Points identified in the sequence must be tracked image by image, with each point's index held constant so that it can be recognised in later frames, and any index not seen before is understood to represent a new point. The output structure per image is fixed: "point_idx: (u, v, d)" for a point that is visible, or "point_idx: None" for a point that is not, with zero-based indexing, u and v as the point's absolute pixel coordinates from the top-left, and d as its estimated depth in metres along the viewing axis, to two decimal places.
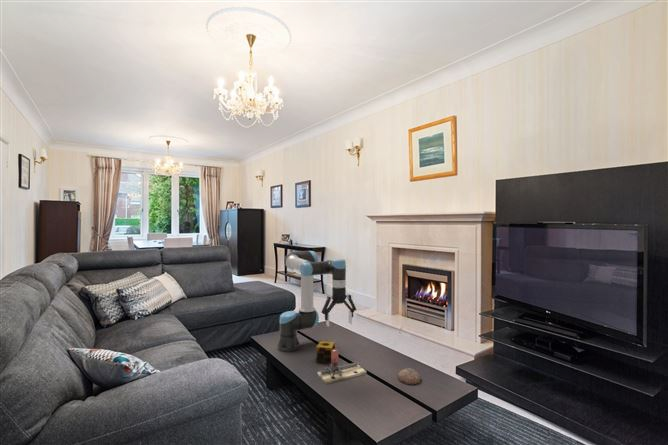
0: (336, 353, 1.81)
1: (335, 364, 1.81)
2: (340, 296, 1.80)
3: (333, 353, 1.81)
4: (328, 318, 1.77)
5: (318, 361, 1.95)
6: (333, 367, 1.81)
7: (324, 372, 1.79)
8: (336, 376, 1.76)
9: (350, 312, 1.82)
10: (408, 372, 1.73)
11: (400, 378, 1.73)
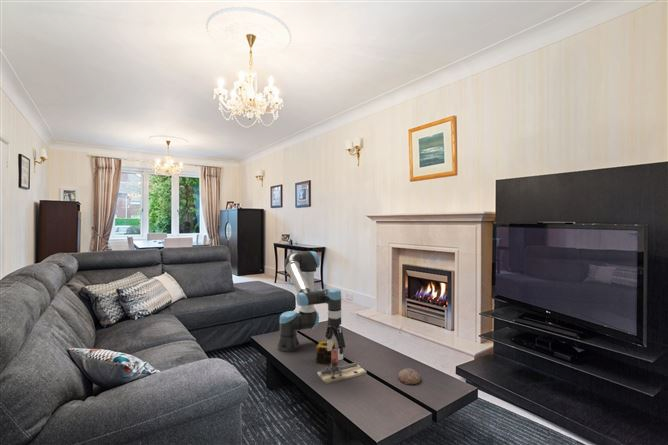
0: (336, 353, 1.81)
1: (335, 364, 1.81)
2: (333, 326, 1.82)
3: (333, 353, 1.81)
4: (327, 343, 1.88)
5: (318, 361, 1.95)
6: (333, 367, 1.81)
7: (324, 372, 1.79)
8: (336, 376, 1.76)
9: (338, 347, 1.76)
10: (408, 372, 1.73)
11: (400, 378, 1.73)
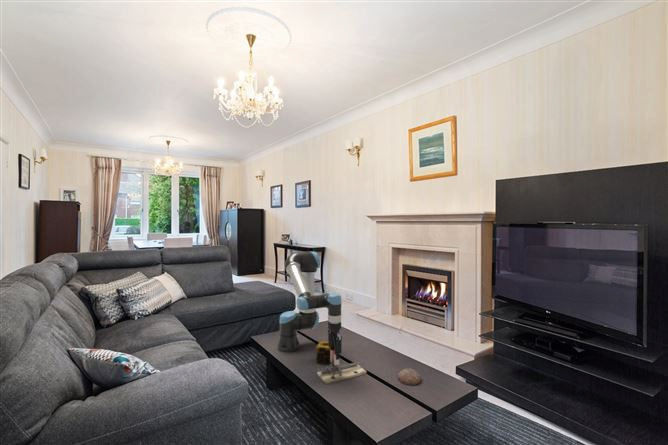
0: None
1: None
2: (333, 331, 1.82)
3: (333, 353, 1.81)
4: None
5: (318, 361, 1.95)
6: (333, 367, 1.81)
7: (324, 372, 1.79)
8: (336, 376, 1.76)
9: (334, 353, 1.80)
10: (408, 372, 1.72)
11: (400, 378, 1.72)
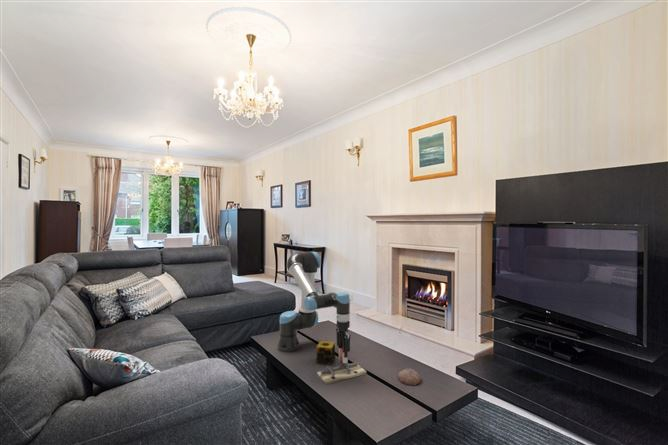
0: None
1: None
2: (341, 330, 1.84)
3: (341, 351, 1.83)
4: (339, 351, 1.87)
5: (318, 361, 1.95)
6: (341, 365, 1.83)
7: (324, 372, 1.79)
8: (336, 376, 1.76)
9: (342, 351, 1.83)
10: (408, 372, 1.72)
11: (400, 378, 1.72)
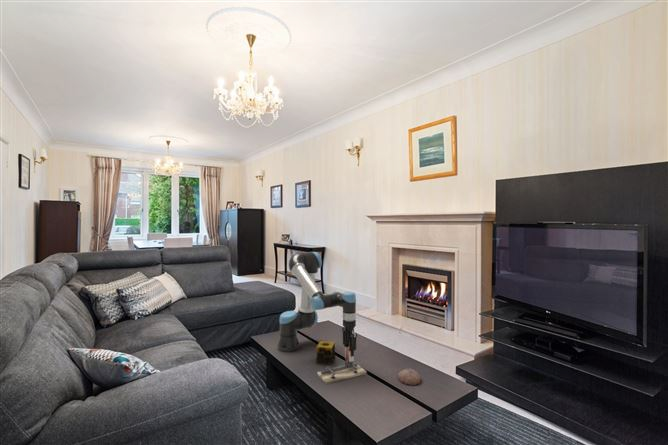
0: None
1: None
2: (347, 328, 1.86)
3: (348, 350, 1.85)
4: (345, 350, 1.88)
5: (318, 361, 1.95)
6: (348, 364, 1.85)
7: (324, 372, 1.79)
8: (336, 376, 1.76)
9: (349, 350, 1.85)
10: (408, 372, 1.72)
11: (400, 378, 1.72)
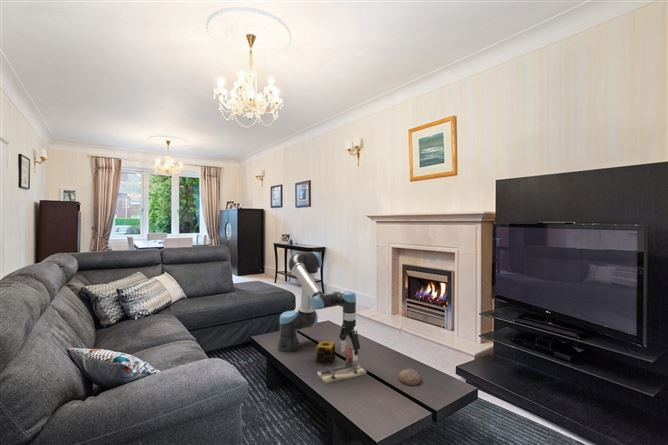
0: (351, 350, 1.85)
1: (350, 361, 1.85)
2: (347, 328, 1.86)
3: (348, 350, 1.85)
4: (341, 343, 1.93)
5: (318, 361, 1.95)
6: (348, 364, 1.85)
7: (324, 372, 1.79)
8: (336, 376, 1.76)
9: None
10: (408, 373, 1.72)
11: (400, 379, 1.72)
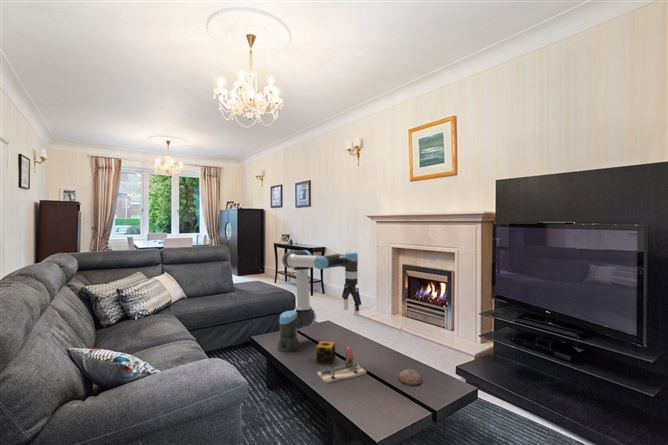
0: (351, 350, 1.85)
1: (350, 361, 1.85)
2: (349, 286, 1.95)
3: (348, 350, 1.85)
4: None
5: (318, 361, 1.95)
6: (348, 364, 1.85)
7: (324, 372, 1.79)
8: (336, 376, 1.76)
9: (354, 305, 1.89)
10: (409, 373, 1.72)
11: (400, 379, 1.72)
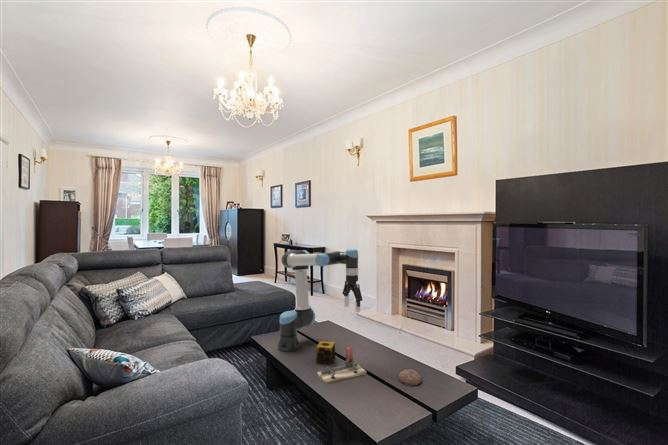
0: (351, 350, 1.85)
1: (350, 361, 1.85)
2: (350, 283, 1.97)
3: (348, 350, 1.85)
4: None
5: (318, 361, 1.95)
6: (348, 364, 1.85)
7: (324, 372, 1.79)
8: (336, 376, 1.76)
9: (355, 301, 1.92)
10: (409, 373, 1.72)
11: (401, 379, 1.72)
